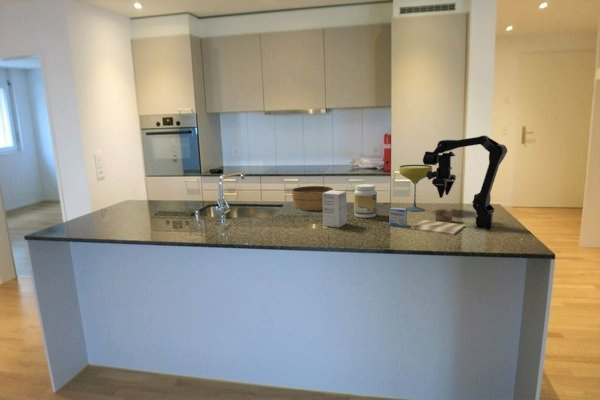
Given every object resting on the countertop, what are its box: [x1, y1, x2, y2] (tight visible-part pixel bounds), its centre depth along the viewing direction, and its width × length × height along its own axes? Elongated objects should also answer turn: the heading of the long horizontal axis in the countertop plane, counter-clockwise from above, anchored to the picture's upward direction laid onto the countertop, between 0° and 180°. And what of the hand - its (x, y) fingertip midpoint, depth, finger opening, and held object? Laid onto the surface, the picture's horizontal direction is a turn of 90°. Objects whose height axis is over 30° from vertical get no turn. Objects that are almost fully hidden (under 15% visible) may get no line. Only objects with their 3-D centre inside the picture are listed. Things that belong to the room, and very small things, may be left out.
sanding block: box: [435, 207, 453, 223], centre depth 214 cm, size 7×4×6 cm, turn 53°
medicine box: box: [388, 207, 408, 228], centre depth 208 cm, size 8×4×9 cm, turn 62°
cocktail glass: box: [398, 164, 433, 213], centre depth 241 cm, size 18×18×25 cm
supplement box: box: [322, 189, 348, 228], centre depth 212 cm, size 10×9×17 cm
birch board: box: [410, 219, 466, 236], centre depth 202 cm, size 20×18×1 cm
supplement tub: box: [353, 183, 378, 219], centre depth 230 cm, size 12×12×17 cm
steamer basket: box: [291, 185, 334, 211], centre depth 259 cm, size 25×25×11 cm
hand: (443, 196), depth 212 cm, fingers open, 9 cm apart
